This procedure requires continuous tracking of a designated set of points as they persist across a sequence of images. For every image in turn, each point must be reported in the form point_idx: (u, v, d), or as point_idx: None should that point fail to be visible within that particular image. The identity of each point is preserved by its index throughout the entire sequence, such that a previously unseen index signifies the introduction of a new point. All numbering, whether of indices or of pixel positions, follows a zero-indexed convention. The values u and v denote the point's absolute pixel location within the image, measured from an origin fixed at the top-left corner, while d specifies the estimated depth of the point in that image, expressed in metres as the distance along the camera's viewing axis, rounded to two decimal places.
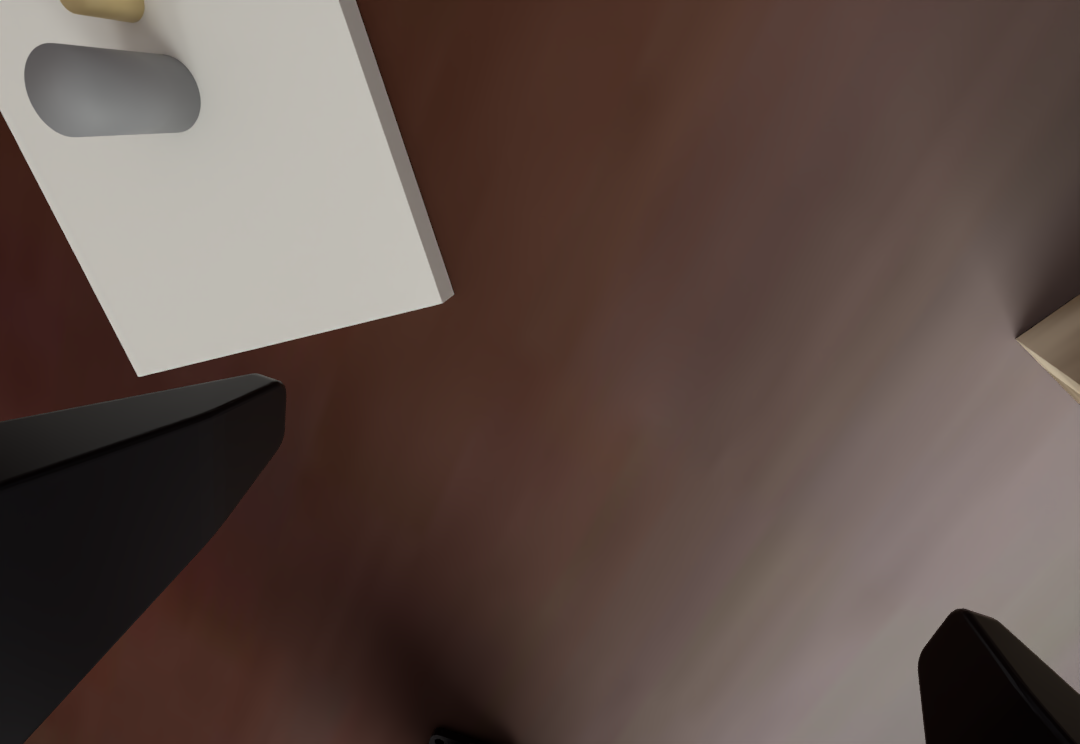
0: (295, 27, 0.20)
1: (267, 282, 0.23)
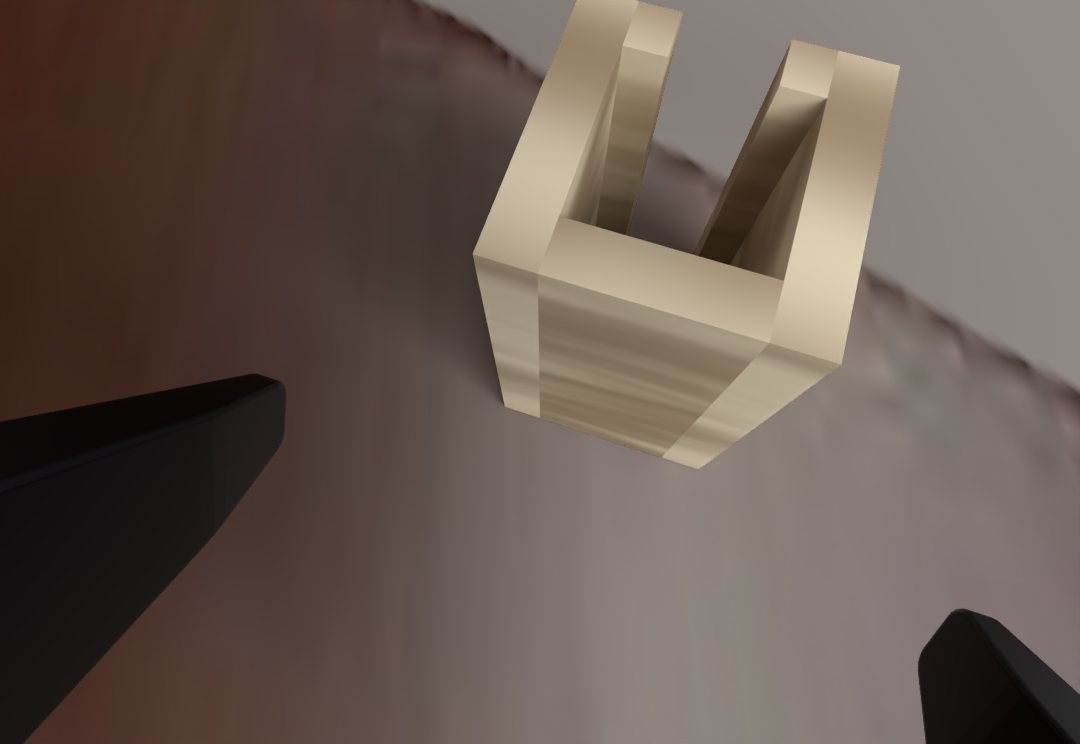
0: None
1: None
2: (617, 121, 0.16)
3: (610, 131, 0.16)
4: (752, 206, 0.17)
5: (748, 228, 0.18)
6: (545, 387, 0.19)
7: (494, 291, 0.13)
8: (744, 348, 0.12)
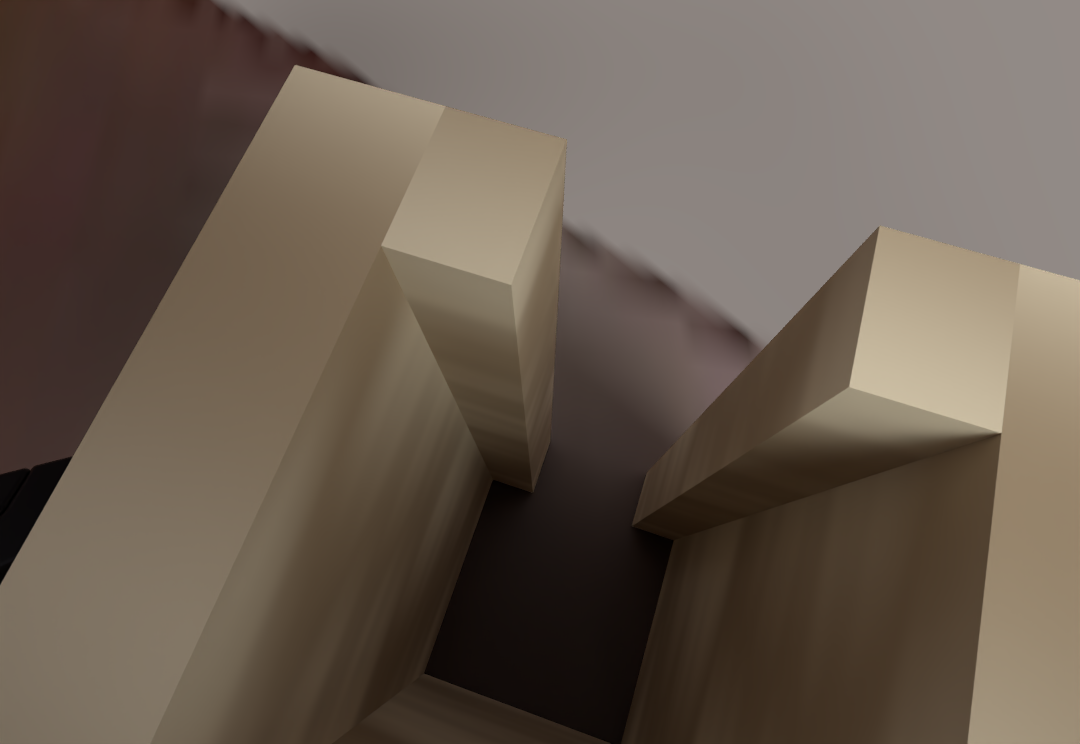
0: None
1: None
2: (446, 358, 0.07)
3: (440, 367, 0.07)
4: (759, 499, 0.08)
5: (750, 512, 0.09)
6: None
7: None
8: None
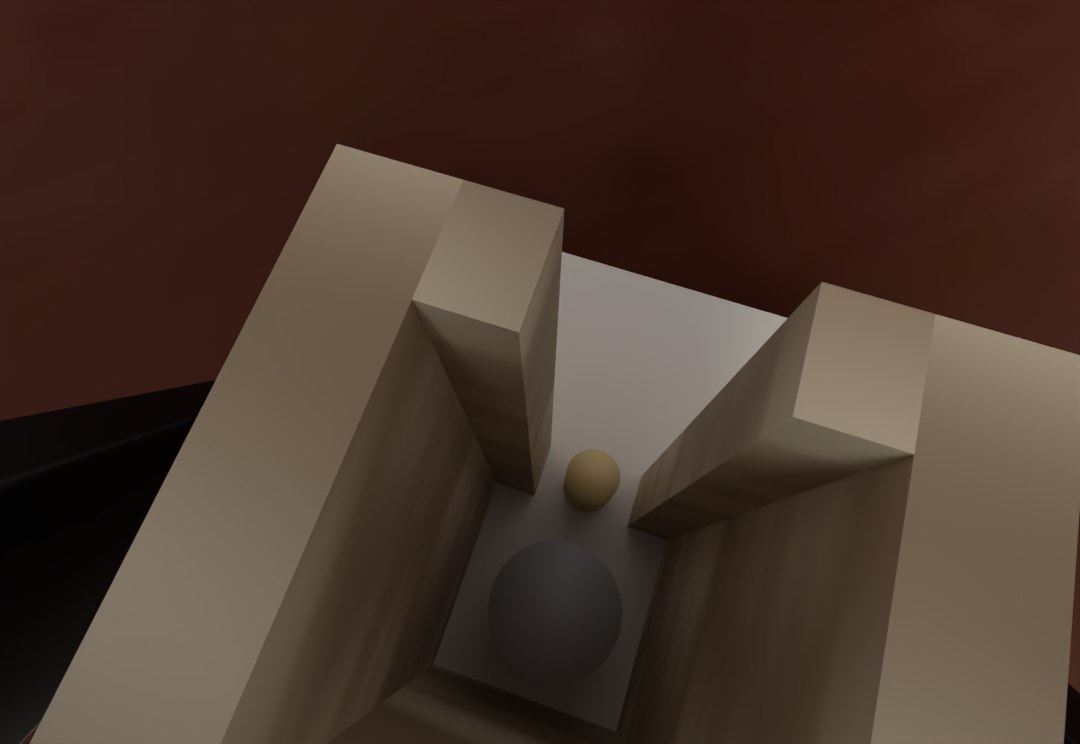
0: None
1: None
2: (460, 382, 0.08)
3: (454, 389, 0.08)
4: (736, 503, 0.09)
5: (730, 515, 0.10)
6: None
7: None
8: None
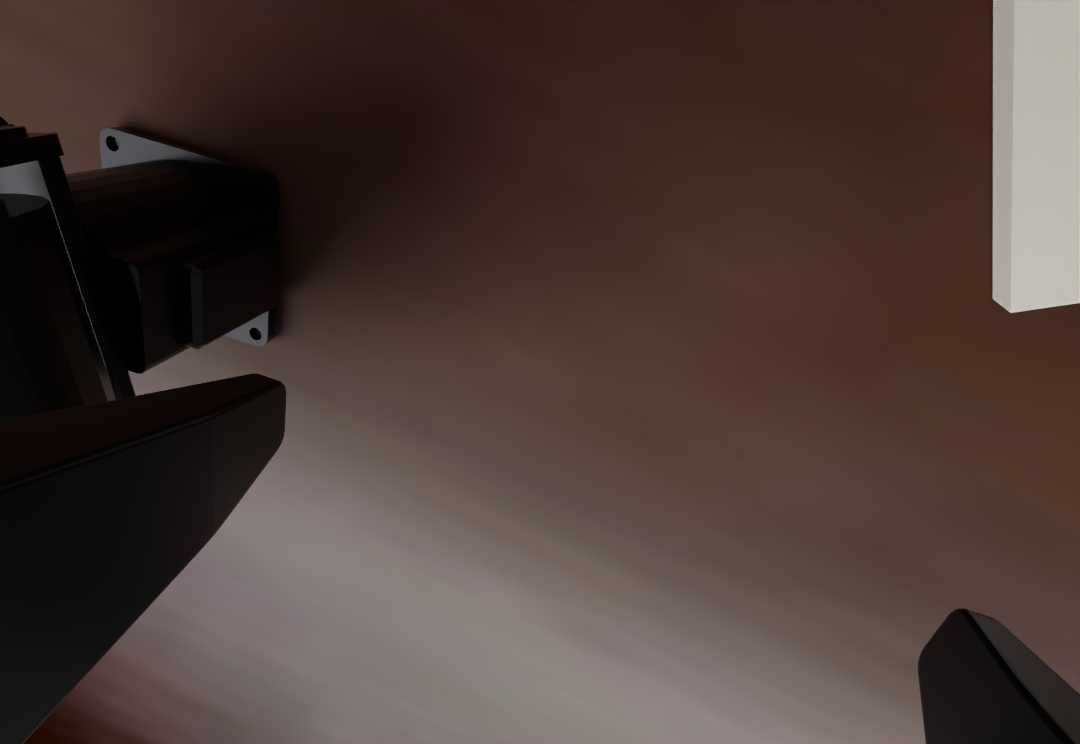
0: None
1: None
2: None
3: None
4: None
5: None
6: None
7: None
8: None
